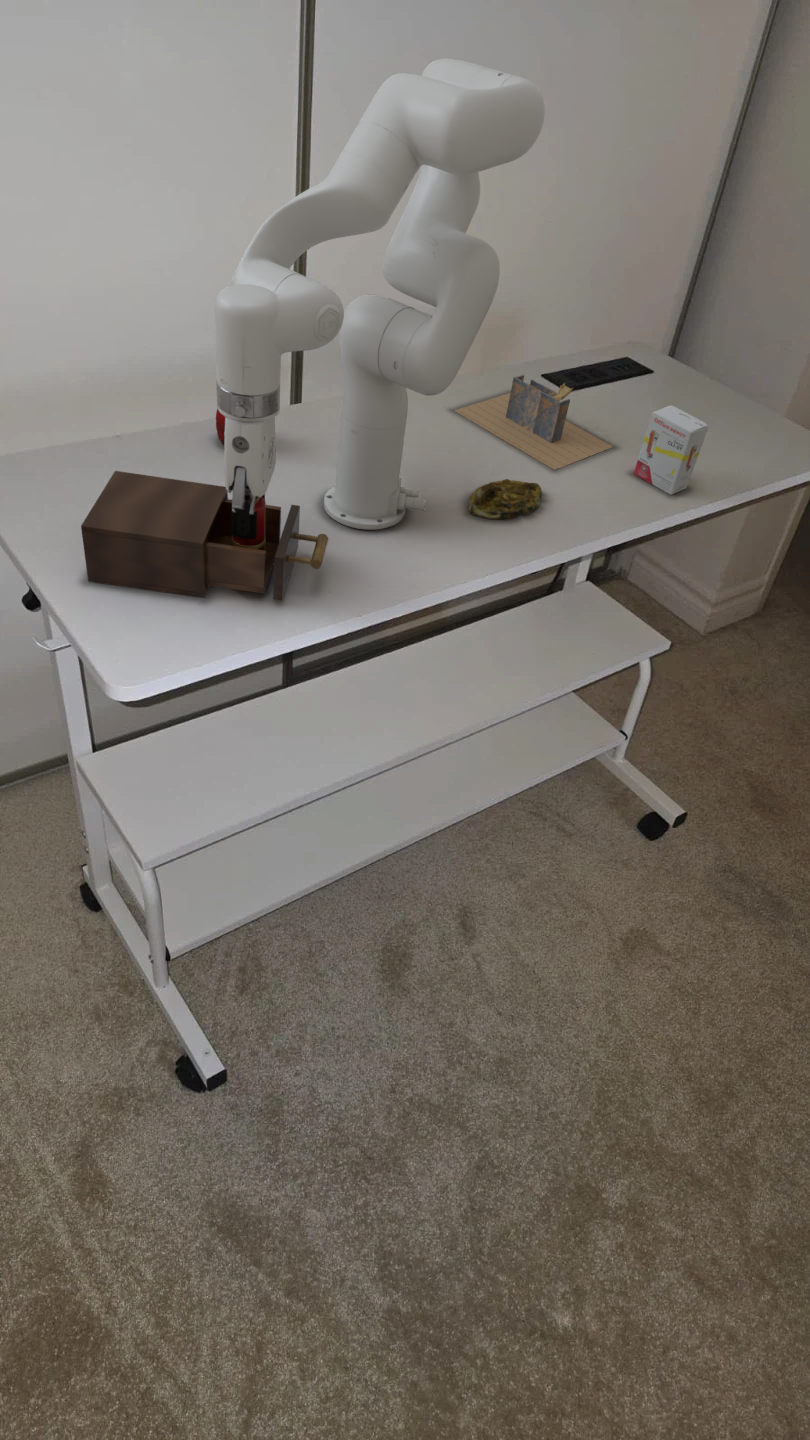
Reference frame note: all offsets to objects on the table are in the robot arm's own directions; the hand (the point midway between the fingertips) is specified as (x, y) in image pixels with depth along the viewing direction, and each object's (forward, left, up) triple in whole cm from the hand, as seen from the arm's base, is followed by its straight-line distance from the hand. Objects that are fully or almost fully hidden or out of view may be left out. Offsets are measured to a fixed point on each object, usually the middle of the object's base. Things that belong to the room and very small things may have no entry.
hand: (248, 525), depth 128 cm
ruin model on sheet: (-41, -57, -8) cm, 70 cm away
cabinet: (+12, 0, -7) cm, 14 cm away
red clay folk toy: (+9, -36, -8) cm, 38 cm away
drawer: (-1, 0, -7) cm, 7 cm away
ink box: (-63, -44, -8) cm, 77 cm away
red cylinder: (0, 0, -5) cm, 5 cm away
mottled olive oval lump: (-36, -29, -8) cm, 47 cm away
